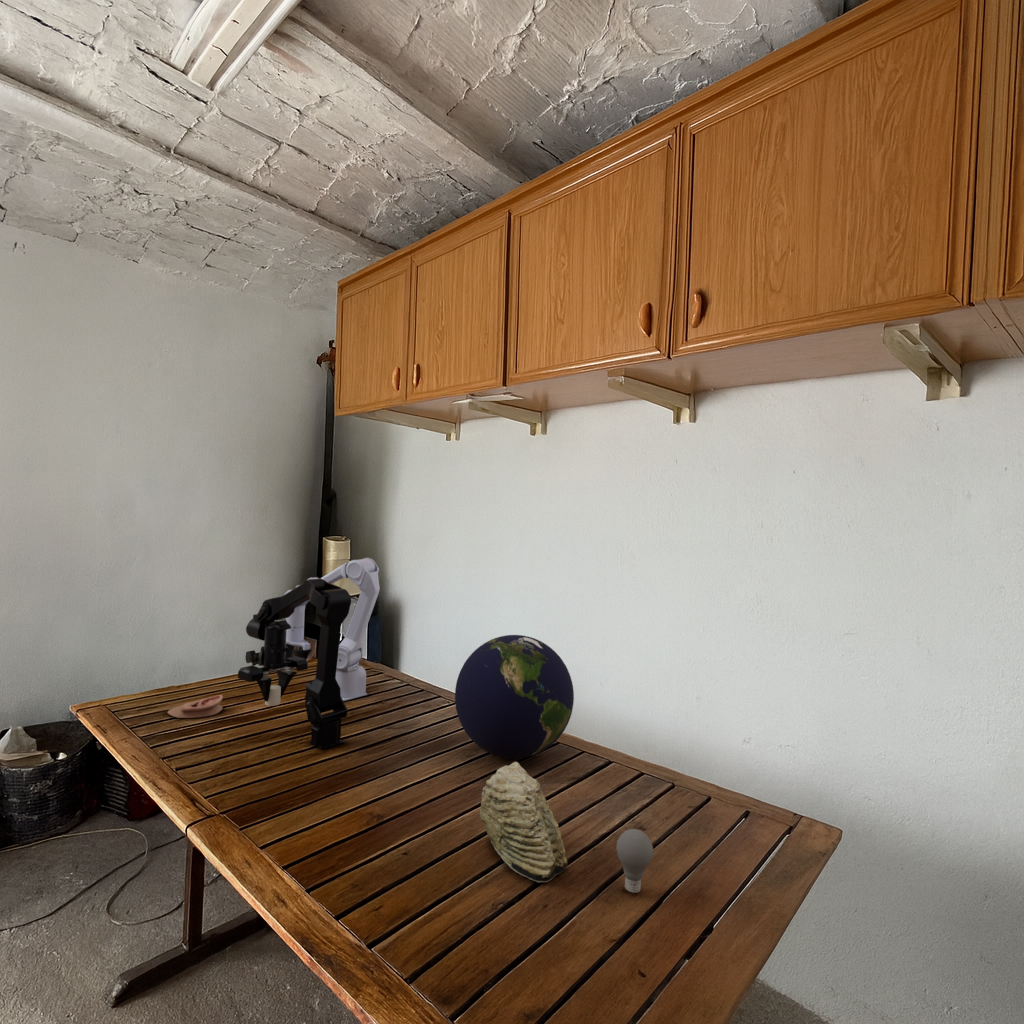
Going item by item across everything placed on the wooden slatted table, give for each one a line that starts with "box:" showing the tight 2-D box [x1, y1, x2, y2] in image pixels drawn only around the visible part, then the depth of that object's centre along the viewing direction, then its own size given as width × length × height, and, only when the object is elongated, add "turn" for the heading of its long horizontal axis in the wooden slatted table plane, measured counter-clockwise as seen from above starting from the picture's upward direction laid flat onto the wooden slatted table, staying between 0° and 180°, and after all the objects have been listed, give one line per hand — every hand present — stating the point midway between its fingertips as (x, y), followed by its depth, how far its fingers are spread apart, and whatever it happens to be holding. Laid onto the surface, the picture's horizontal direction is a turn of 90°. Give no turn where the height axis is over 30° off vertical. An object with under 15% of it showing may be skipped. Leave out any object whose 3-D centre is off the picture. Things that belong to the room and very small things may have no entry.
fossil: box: [479, 761, 569, 883], centre depth 114 cm, size 9×18×15 cm, turn 46°
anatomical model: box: [167, 694, 224, 719], centre depth 180 cm, size 13×4×12 cm
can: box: [264, 684, 282, 707], centre depth 176 cm, size 4×4×5 cm
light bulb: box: [615, 828, 654, 894], centre depth 106 cm, size 6×6×10 cm
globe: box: [454, 634, 575, 760], centre depth 160 cm, size 30×30×30 cm
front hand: (273, 699), depth 177 cm, fingers closed on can, 4 cm apart
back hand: (293, 668), depth 205 cm, fingers open, 7 cm apart
